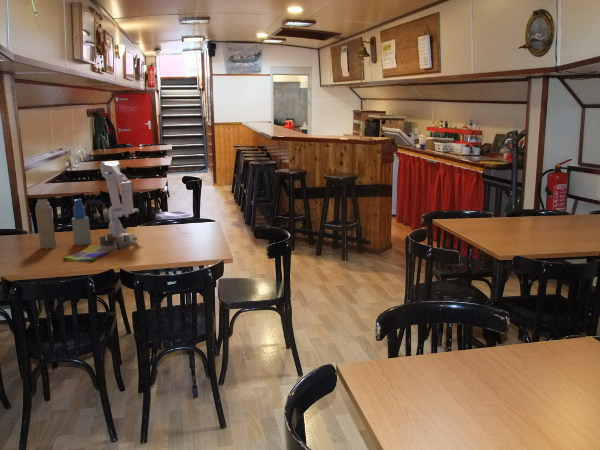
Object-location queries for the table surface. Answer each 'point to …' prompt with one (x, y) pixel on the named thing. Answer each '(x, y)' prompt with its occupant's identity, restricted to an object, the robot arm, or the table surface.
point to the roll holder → (119, 244)
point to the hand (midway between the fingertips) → (129, 227)
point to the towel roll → (131, 237)
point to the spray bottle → (80, 224)
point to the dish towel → (91, 254)
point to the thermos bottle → (45, 223)
